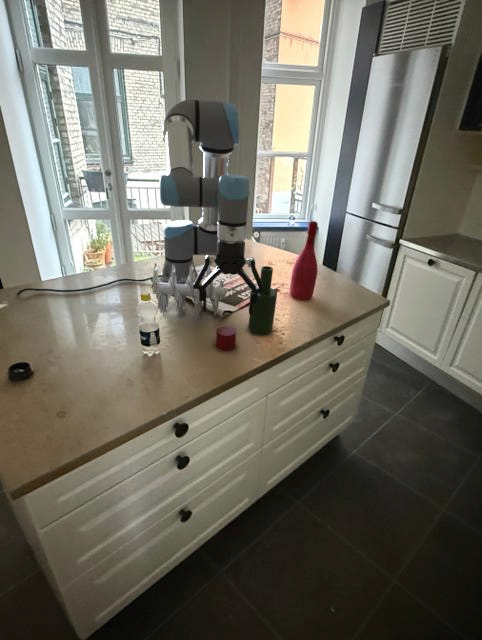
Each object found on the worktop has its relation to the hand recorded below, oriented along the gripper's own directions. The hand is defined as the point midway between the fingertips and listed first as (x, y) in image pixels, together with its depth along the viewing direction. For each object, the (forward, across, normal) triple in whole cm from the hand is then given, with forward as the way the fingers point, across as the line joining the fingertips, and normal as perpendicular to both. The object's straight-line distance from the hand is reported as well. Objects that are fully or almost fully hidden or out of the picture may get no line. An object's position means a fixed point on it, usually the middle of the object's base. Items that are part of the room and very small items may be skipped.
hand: (227, 311), depth 110 cm
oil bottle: (+12, +12, +12) cm, 21 cm away
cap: (+12, 0, 0) cm, 12 cm away
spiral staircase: (+12, -13, +22) cm, 28 cm away
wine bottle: (+12, +31, +41) cm, 53 cm away
